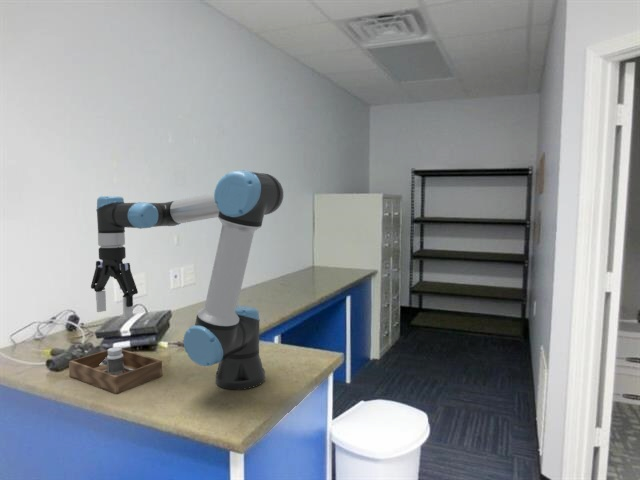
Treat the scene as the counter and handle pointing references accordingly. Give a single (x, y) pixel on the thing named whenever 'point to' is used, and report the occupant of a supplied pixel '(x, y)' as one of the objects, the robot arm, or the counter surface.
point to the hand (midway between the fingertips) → (114, 314)
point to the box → (134, 374)
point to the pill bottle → (115, 361)
